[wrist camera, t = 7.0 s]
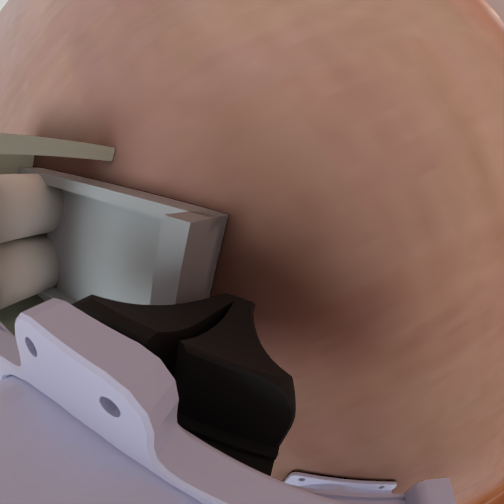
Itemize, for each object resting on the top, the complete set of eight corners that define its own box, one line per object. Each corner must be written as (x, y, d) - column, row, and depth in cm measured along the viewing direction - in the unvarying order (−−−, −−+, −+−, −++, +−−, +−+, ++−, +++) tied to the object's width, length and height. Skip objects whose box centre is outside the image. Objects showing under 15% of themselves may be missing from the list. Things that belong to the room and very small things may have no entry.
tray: (228, 214, 12) (162, 229, 7) (196, 358, 14) (144, 425, 9) (40, 167, 14) (-23, 168, 9) (33, 270, 16) (-21, 289, 11)
